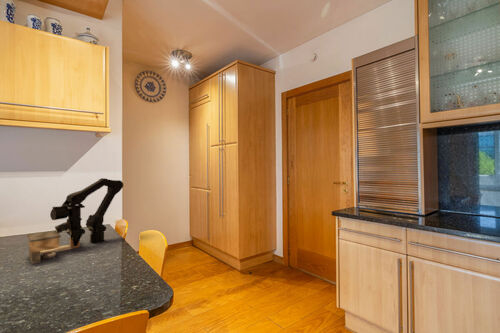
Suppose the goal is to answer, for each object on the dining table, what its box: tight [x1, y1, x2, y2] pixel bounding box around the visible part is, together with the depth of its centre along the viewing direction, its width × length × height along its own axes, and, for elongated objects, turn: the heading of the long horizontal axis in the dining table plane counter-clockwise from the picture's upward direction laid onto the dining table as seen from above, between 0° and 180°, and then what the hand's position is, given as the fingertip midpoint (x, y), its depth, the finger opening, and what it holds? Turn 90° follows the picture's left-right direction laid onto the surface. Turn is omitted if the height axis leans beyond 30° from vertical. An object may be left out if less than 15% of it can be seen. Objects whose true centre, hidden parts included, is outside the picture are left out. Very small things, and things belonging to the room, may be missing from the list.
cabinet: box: [27, 230, 62, 265], centre depth 122 cm, size 11×15×11 cm
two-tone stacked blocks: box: [40, 237, 81, 256], centre depth 133 cm, size 16×5×5 cm, turn 136°
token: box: [42, 250, 57, 259], centre depth 123 cm, size 5×5×2 cm
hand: (74, 245), depth 138 cm, fingers closed on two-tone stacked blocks, 4 cm apart
